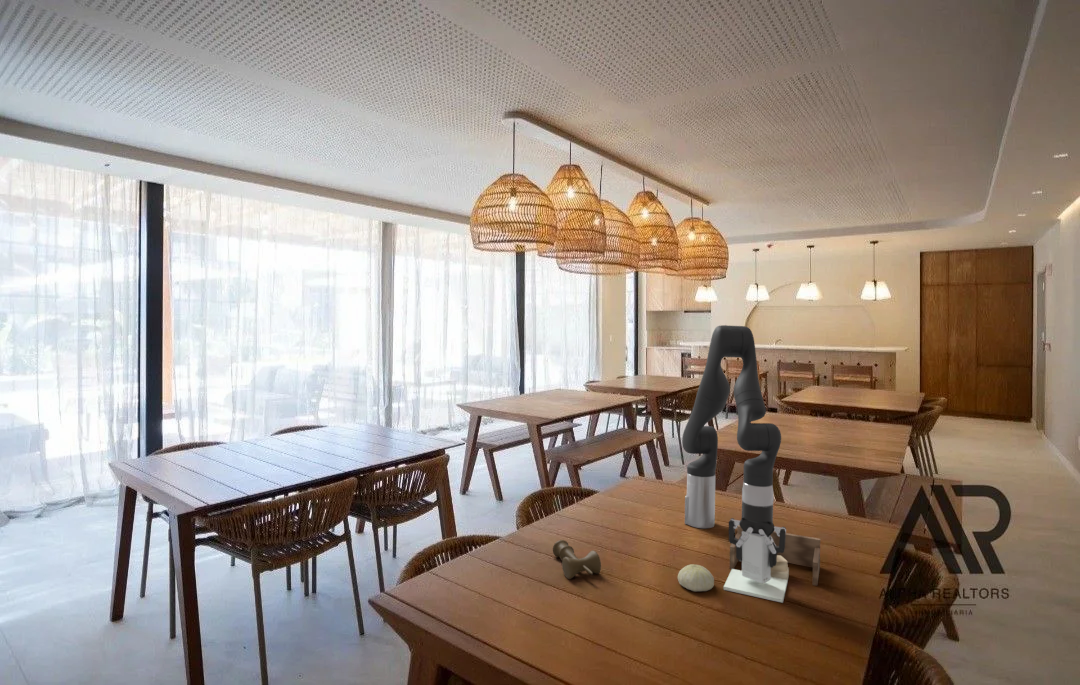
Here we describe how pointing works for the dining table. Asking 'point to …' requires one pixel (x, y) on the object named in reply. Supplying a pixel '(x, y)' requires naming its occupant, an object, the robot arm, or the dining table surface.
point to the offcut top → (780, 564)
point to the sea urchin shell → (696, 578)
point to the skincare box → (756, 558)
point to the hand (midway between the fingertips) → (756, 563)
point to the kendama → (576, 560)
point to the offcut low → (780, 574)
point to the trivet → (756, 586)
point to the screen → (791, 551)
